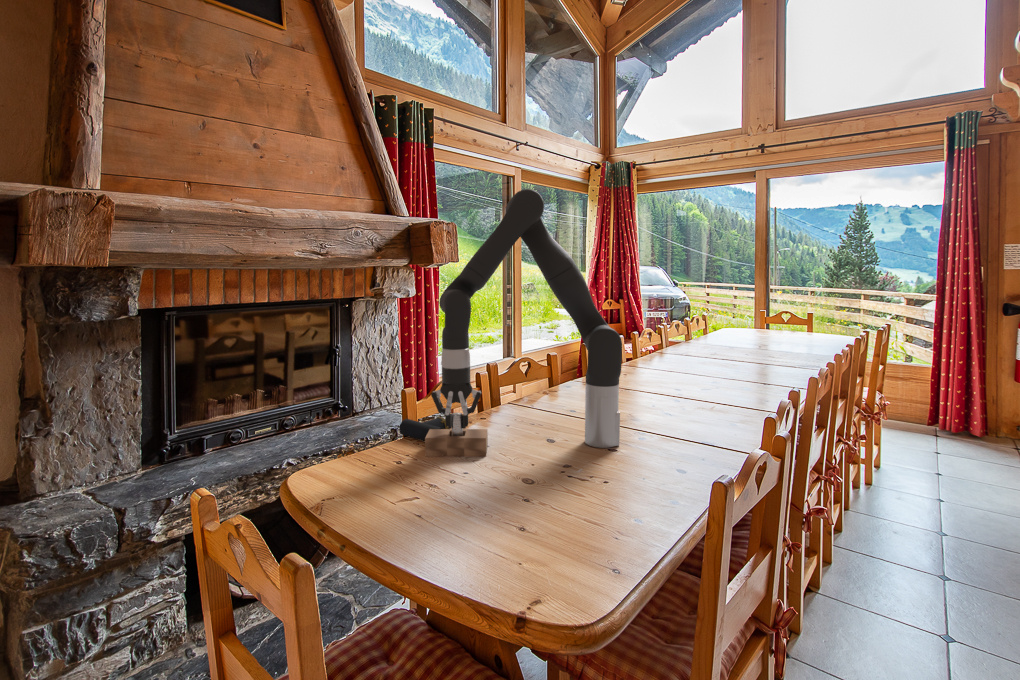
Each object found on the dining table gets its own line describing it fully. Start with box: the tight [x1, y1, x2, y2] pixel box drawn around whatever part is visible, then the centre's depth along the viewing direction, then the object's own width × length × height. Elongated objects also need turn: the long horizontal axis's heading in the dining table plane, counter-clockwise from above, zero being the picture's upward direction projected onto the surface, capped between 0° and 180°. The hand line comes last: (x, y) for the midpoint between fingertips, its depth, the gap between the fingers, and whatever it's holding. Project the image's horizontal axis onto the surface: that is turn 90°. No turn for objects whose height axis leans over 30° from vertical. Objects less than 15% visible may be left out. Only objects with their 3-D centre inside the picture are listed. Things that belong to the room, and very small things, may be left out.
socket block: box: [424, 428, 489, 458], centre depth 145 cm, size 16×8×5 cm, turn 90°
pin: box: [451, 412, 463, 436], centre depth 145 cm, size 3×3×10 cm
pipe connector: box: [398, 416, 448, 443], centre depth 158 cm, size 12×5×15 cm
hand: (457, 427), depth 144 cm, fingers open, 3 cm apart
